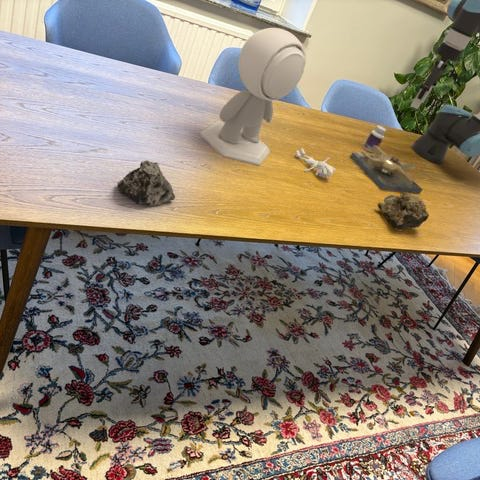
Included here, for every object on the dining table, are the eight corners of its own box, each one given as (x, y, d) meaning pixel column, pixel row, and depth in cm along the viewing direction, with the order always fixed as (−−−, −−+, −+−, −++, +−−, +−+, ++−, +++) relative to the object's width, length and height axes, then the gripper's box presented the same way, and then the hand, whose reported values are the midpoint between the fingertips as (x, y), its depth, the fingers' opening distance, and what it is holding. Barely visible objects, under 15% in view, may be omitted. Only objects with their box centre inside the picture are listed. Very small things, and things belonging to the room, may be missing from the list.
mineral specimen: (365, 203, 139) (382, 177, 134) (393, 206, 146) (411, 181, 140) (391, 234, 130) (411, 207, 124) (421, 236, 136) (441, 210, 131)
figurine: (313, 141, 148) (347, 162, 140) (310, 154, 152) (344, 175, 144) (285, 154, 143) (320, 176, 135) (284, 167, 146) (317, 190, 138)
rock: (131, 222, 93) (170, 196, 92) (105, 182, 93) (144, 155, 91) (151, 216, 106) (186, 193, 105) (128, 181, 106) (163, 157, 104)
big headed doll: (234, 168, 125) (287, 43, 105) (188, 124, 136) (228, 4, 116) (281, 163, 139) (335, 52, 119) (235, 124, 149) (278, 16, 130)
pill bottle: (375, 154, 178) (388, 133, 172) (362, 149, 177) (375, 127, 172) (374, 149, 182) (387, 128, 176) (362, 144, 182) (375, 122, 176)
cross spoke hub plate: (387, 162, 175) (391, 155, 174) (419, 193, 163) (425, 186, 161) (349, 157, 165) (354, 149, 163) (381, 189, 152) (386, 181, 150)
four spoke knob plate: (391, 155, 175) (397, 145, 172) (427, 189, 161) (435, 179, 158) (350, 148, 164) (356, 138, 161) (385, 184, 150) (392, 173, 147)
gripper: (446, 38, 161) (413, 94, 174) (438, 43, 142) (401, 104, 154) (465, 48, 160) (431, 103, 172) (460, 53, 140) (421, 115, 152)
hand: (416, 104), depth 163 cm, fingers open, 13 cm apart
